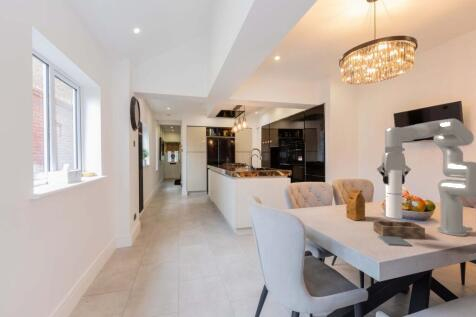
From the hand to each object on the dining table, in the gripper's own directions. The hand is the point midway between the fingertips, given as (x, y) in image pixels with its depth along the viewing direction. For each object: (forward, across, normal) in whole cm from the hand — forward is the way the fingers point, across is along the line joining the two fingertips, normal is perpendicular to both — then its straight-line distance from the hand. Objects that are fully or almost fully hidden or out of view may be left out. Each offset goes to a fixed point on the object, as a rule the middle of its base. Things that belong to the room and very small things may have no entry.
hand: (393, 183), depth 115 cm
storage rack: (+31, -8, -12) cm, 34 cm away
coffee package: (+31, +4, -44) cm, 54 cm away
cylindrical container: (+18, 0, 0) cm, 18 cm away
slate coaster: (+31, 0, 0) cm, 31 cm away
